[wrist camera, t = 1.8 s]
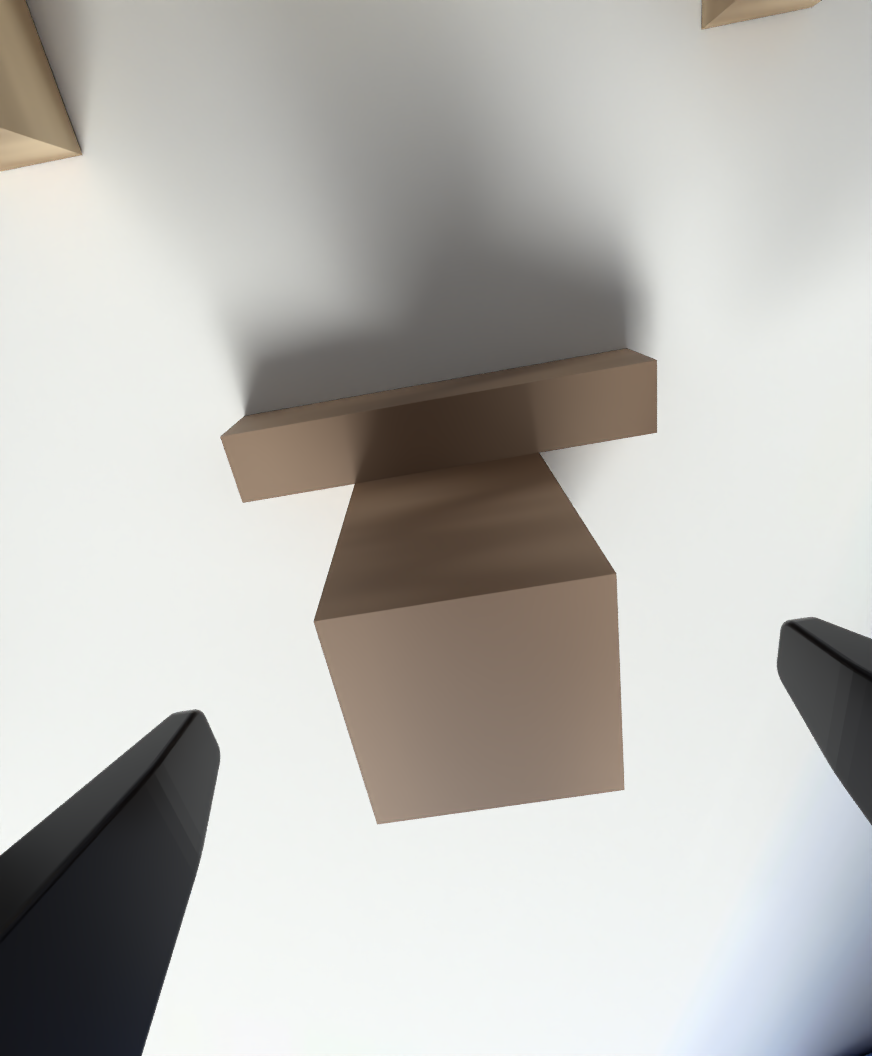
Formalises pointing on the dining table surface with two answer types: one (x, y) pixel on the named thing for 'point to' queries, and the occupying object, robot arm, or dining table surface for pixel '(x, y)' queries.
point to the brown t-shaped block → (465, 579)
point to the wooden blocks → (43, 124)
